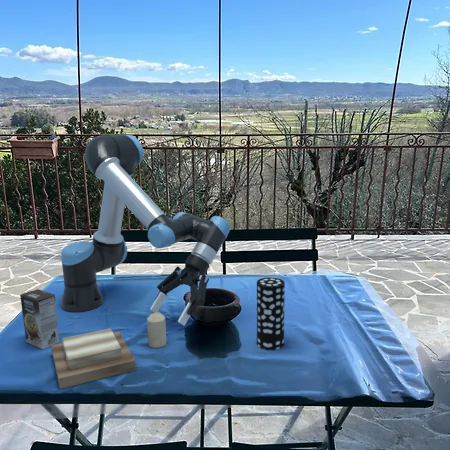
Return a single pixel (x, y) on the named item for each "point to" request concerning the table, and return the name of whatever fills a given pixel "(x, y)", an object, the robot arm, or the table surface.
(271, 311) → the white-spotted black cylinder
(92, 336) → the two-tier square platform
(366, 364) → the table surface
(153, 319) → the candle
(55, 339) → the coffee box
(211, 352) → the table surface
